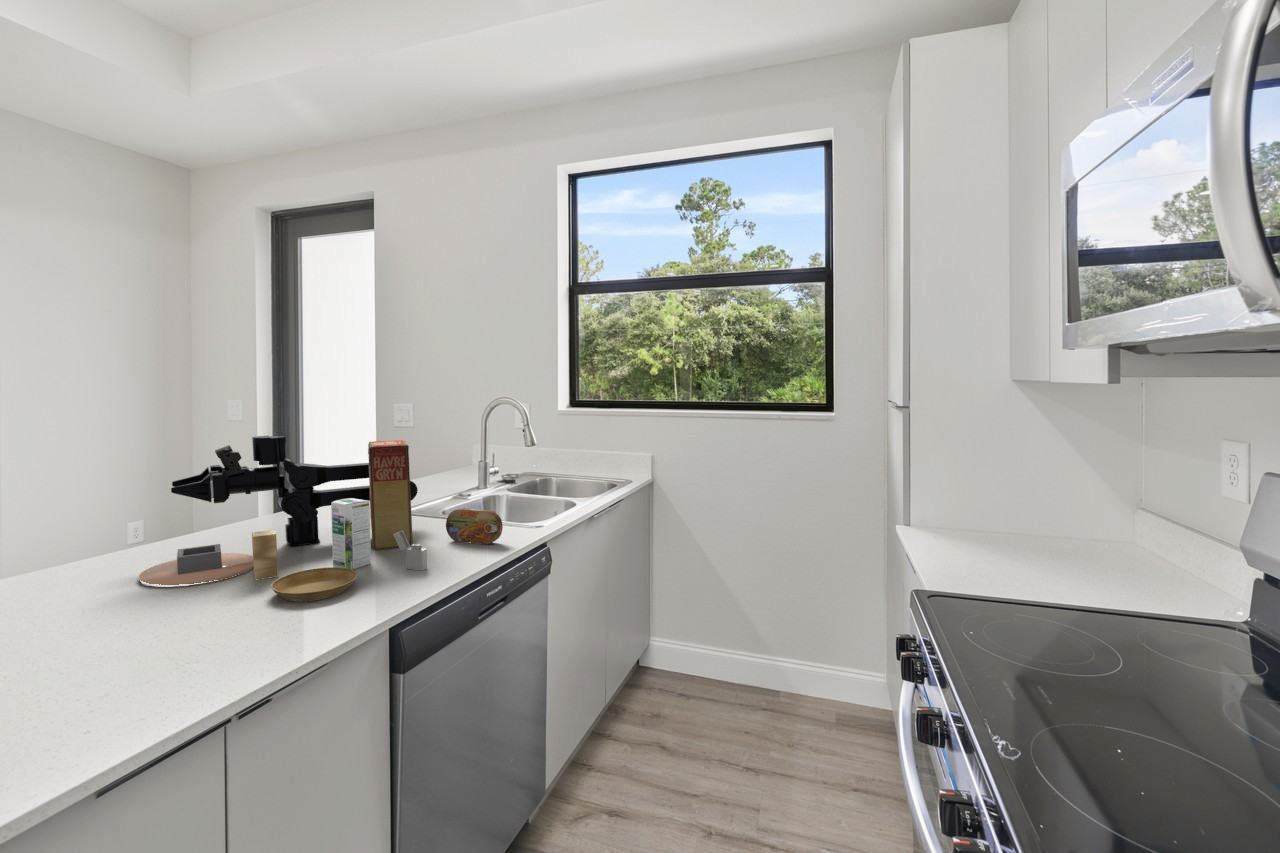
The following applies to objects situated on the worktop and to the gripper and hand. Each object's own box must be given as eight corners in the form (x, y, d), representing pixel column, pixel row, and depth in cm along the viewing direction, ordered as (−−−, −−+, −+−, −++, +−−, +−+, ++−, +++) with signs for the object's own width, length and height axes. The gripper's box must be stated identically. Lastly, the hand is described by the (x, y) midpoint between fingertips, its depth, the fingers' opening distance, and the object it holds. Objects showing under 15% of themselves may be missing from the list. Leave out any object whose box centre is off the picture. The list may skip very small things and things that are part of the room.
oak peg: (275, 571, 129) (274, 529, 129) (278, 576, 126) (276, 533, 125) (253, 574, 127) (251, 532, 126) (255, 580, 124) (253, 536, 123)
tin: (445, 541, 154) (444, 508, 153) (452, 538, 157) (452, 505, 156) (498, 546, 149) (497, 512, 149) (504, 543, 152) (504, 509, 152)
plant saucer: (368, 593, 117) (368, 580, 117) (282, 613, 107) (281, 598, 107) (343, 574, 128) (343, 562, 128) (263, 591, 118) (262, 578, 118)
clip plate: (252, 552, 143) (251, 533, 143) (259, 575, 127) (258, 554, 126) (142, 567, 131) (141, 547, 131) (135, 595, 115) (134, 571, 115)
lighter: (427, 568, 132) (426, 531, 132) (422, 570, 131) (421, 533, 130) (399, 565, 134) (398, 529, 133) (394, 567, 132) (393, 531, 132)
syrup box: (331, 567, 132) (329, 501, 131) (355, 560, 138) (353, 496, 136) (348, 571, 130) (346, 504, 128) (372, 563, 135) (370, 499, 134)
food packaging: (370, 537, 157) (367, 440, 155) (409, 533, 161) (407, 439, 159) (371, 550, 145) (368, 446, 143) (413, 546, 149) (411, 444, 147)
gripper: (249, 442, 151) (170, 447, 142) (255, 450, 136) (168, 455, 127) (251, 486, 152) (173, 494, 143) (258, 499, 137) (171, 508, 128)
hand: (171, 487), depth 135 cm, fingers open, 9 cm apart
